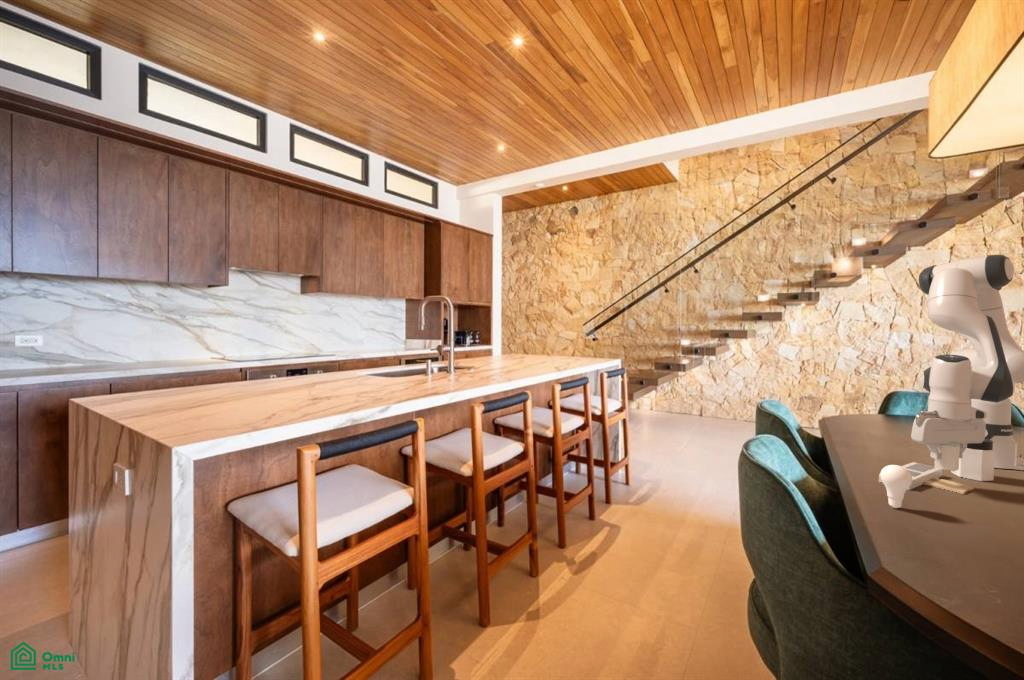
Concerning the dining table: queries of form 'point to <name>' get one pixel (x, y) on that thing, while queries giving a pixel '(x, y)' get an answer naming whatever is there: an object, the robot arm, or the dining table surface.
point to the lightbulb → (896, 483)
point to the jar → (977, 461)
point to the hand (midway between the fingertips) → (946, 458)
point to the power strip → (920, 473)
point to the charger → (948, 456)
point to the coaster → (949, 485)
